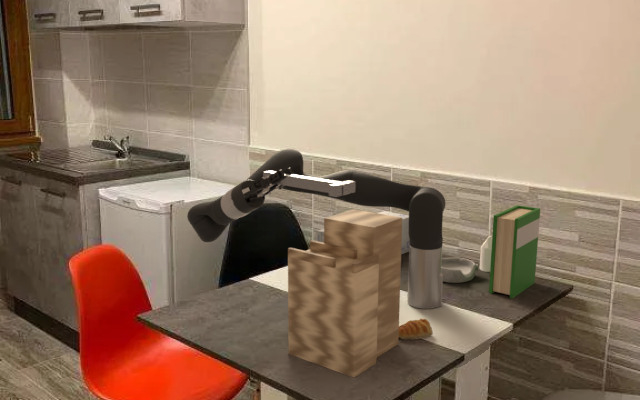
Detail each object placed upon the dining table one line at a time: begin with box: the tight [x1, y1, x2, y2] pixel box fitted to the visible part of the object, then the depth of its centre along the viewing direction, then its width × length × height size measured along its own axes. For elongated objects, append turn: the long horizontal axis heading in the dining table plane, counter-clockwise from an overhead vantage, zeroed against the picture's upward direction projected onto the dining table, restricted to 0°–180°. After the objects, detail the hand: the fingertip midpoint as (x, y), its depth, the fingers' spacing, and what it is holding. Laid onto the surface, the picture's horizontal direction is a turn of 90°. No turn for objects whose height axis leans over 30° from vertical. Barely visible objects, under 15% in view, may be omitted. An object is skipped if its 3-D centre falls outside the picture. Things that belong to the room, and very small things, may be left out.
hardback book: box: [488, 204, 541, 299], centre depth 198 cm, size 18×7×24 cm, turn 142°
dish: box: [441, 257, 480, 284], centre depth 210 cm, size 14×14×5 cm
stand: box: [287, 208, 402, 378], centre depth 154 cm, size 19×21×32 cm
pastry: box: [399, 318, 433, 340], centre depth 166 cm, size 9×7×4 cm
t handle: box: [263, 171, 356, 197], centre depth 149 cm, size 24×7×2 cm, turn 51°
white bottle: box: [479, 234, 493, 273], centre depth 217 cm, size 6×12×6 cm
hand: (286, 172), depth 152 cm, fingers closed on t handle, 2 cm apart
